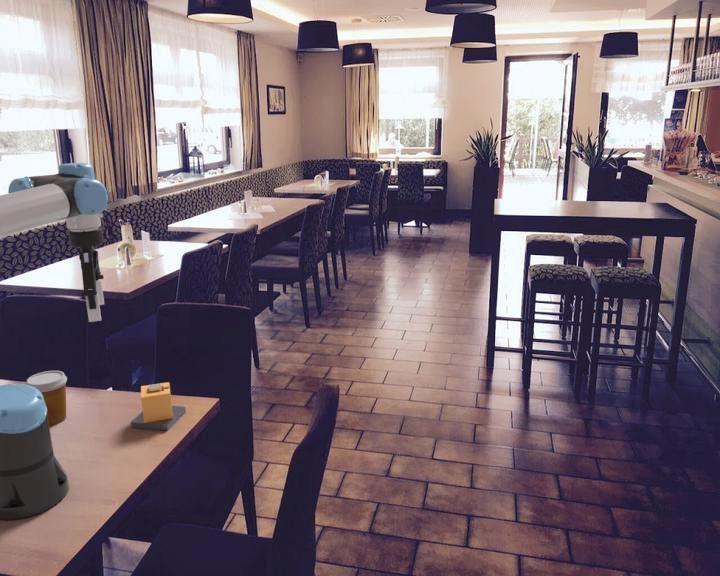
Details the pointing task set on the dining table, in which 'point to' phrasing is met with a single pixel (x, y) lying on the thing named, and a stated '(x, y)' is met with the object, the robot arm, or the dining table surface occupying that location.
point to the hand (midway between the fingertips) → (97, 312)
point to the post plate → (160, 424)
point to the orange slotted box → (156, 403)
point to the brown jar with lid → (52, 393)
